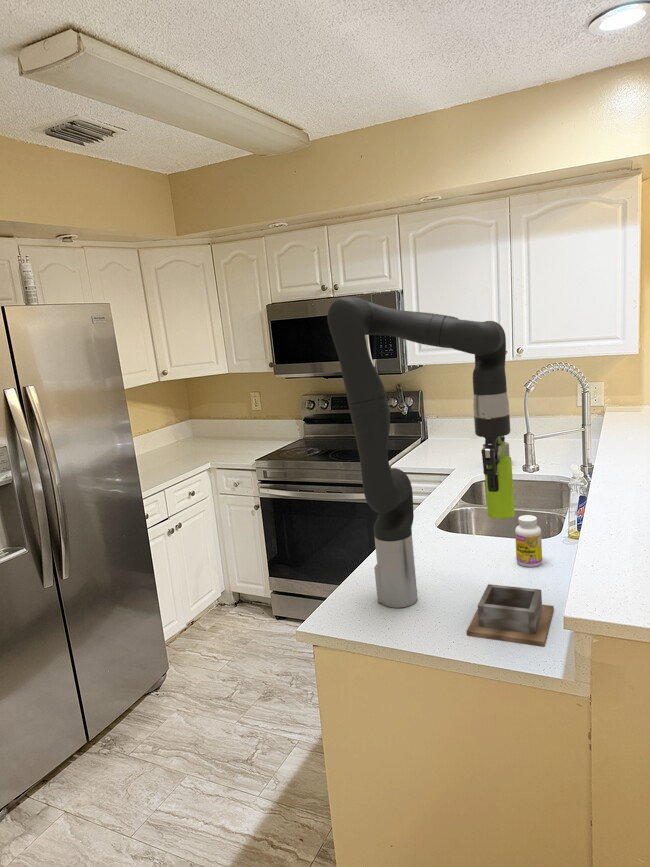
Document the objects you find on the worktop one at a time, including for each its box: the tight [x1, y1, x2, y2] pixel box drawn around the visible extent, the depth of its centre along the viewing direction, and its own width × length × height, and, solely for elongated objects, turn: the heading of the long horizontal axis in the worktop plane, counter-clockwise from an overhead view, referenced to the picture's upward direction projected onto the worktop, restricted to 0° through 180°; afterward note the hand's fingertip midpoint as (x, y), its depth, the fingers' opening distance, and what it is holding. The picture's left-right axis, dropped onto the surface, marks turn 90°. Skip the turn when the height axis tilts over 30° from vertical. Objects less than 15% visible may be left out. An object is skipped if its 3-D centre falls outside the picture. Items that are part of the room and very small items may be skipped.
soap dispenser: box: [484, 436, 516, 520], centre depth 134 cm, size 6×7×20 cm
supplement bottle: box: [514, 514, 543, 568], centre depth 162 cm, size 7×7×13 cm
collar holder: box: [466, 583, 555, 647], centre depth 134 cm, size 16×16×6 cm
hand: (496, 486), depth 135 cm, fingers closed on soap dispenser, 6 cm apart
